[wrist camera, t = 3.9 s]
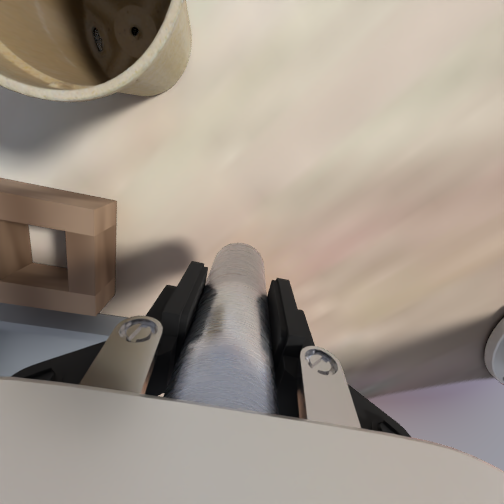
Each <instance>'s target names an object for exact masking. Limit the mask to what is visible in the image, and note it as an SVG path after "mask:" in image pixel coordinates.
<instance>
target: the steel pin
mask: <svg viewBox="0 0 504 504" xmlns="http://www.w3.org/2000/svg"><path fill="white" fill-rule="evenodd" d="M164 397H166V398H173V399H180V400H186V401H193V402H199V403H206V404H212V405H219V406H225V407H232V408H238V409H245V410H251V411H257V412H264V413H270V414H277V415H279V412H278V402H277V392H276V382H275V372H274V362H273V352H272V343H271V333H270V323H269V313H268V303H267V293H266V283H265V273H264V263H263V259H262V257H261V255H260V253H259V252H258V251H257V250H256V249H255V248H253V247H252V246H250V245H247V244H244V243H233V244H229V245H227V246H225V247H223V248H222V249H221V250H220V251H219V252H218V253H217V255H216V257H215V260H214V262H213V265H212V268H211V270H210V273H209V276H208V278H207V281H206V284H205V287H204V290H203V293H202V295H201V298H200V301H199V303H198V306H197V309H196V312H195V314H194V317H193V320H192V322H191V325H190V328H189V331H188V333H187V336H186V339H185V341H184V344H183V346H182V348H181V351H180V354H179V356H178V359H177V362H176V364H175V367H174V370H173V372H172V375H171V378H170V380H169V383H168V386H167V389H166V391H165V394H164Z"/></svg>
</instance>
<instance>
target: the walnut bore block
mask: <svg viewBox="0 0 504 504" xmlns="http://www.w3.org/2000/svg"><path fill="white" fill-rule="evenodd" d="M116 213H117V201H115V200H110V199H105V198H100V197H95V196H90V195H84V194H79V193H74V192H69V191H64V190H59V189H54V188H49V187H44V186H39V185H34V184H29V183H24V182H19V181H14V180H9V179H4V178H0V303H7V304H14V305H20V306H27V307H34V308H41V309H48V310H55V311H62V312H69V313H76V314H83V315H90V316H96V315H97V314H98V313H99V312H100V311H101V310H102V309H103V307H104V306H105V305H106V304H107V303H108V302H109V301H110V300H111V298H112V297H113V296H114V295H115V268H116ZM28 224H29V225H34V226H40V227H45V228H51V229H56V230H62V231H65V235H66V252H67V268H62V267H56V266H50V265H44V264H37V263H33V262H32V253H31V244H30V236H29V227H28Z"/></svg>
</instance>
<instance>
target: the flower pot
mask: <svg viewBox="0 0 504 504" xmlns="http://www.w3.org/2000/svg"><path fill="white" fill-rule="evenodd" d="M133 27H136V28H137V29H138V30H139V33H138V34H137V35H136V36H134V35H133V34H132V32H131V31H132V28H133ZM94 28H96V29H97V30H98V34H99V37H100V38H101V39H102V40H103V41H101V42H102V43H101V44H102V48H103V49H102V51H99V50H98V47H97V45H96V42H95V39H94V35H93V31H94ZM190 52H191V28H190V22H189V17H188V11H187V4H186V0H0V86H2V87H4V88H7V89H9V90H12V91H15V92H18V93H20V94H23V95H26V96H30V97H35V98H39V99H44V100H50V101H60V102H82V101H90V100H94V99H99V98H103V97H106V96H109V95H111V94H114V93H116V92H120V93H127V94H133V95H138V96H154V95H157V94H160V93H163V92H165V91H167V90H168V89H170V88H171V87H172V86H174V85H175V84H176V82H177V81H178V80H179V78H180V77H181V75H182V74H183V72H184V70H185V68H186V66H187V63H188V61H189V57H190Z"/></svg>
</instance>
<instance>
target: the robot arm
mask: <svg viewBox="0 0 504 504" xmlns="http://www.w3.org/2000/svg"><path fill="white" fill-rule="evenodd" d="M207 271H208V267H204V263H199V262H194V261H192V262H191V263H190V265H189V267H188V269H187V270H186V272H185V274H184V275H183V277H182V279H181V281H180V282H179V284H178V286H177V287H176V286H171V285H166V287H165V288H164V289H163V291H162V292H161V294H160V295H159V297H158V298H157V300H156V301H155V303H154V304H153V306H152V307H151V309H150V310H149V312H148V313H147V315H146V316H135V317H130V318H127V319H125V320H123V321H121V322H120V323H118V325H117V326H116V327H115V328H114V330H113V331H112V333H111V334H110V336H109V338H108V339H107V341H104V342H101V343H98V344H94V345H91V346H88V347H85V348H82V349H79V350H76V351H73V352H70V353H67V354H64V355H61V356H58V357H55V358H52V359H49V360H46V361H43V362H40V363H37V364H34V365H31V366H29V367H26V368H24V369H22V370H20V371H18V372H17V373H15V374H14V375H12V376H11V377H6V376H0V504H504V471H502V470H501V469H499V468H497V467H495V466H493V465H491V464H489V463H487V462H485V461H483V460H481V459H478V458H477V457H475V456H472V455H469V454H467V453H465V452H462V451H459V450H457V449H454V448H451V447H448V446H445V445H441V444H438V443H434V442H430V441H426V440H421V439H416V438H411V436H410V435H409V434H408V433H407V432H406V430H405V429H404V428H403V427H402V426H400V425H399V424H398V423H397V422H396V421H394V420H393V419H392V418H391V417H389V416H388V415H387V414H385V413H384V412H383V411H381V410H380V409H379V408H378V407H376V406H375V405H374V404H373V403H371V402H370V401H369V400H368V399H366V398H365V397H364V396H362V395H361V394H360V393H359V392H357V391H356V390H355V389H353V388H352V387H351V386H350V385H348V384H347V381H346V378H345V375H344V372H343V369H342V366H341V364H340V362H339V360H338V359H337V358H336V357H335V356H334V355H333V354H332V353H330V352H329V351H327V350H325V349H323V348H320V347H317V346H315V345H314V342H313V339H312V336H311V333H310V330H309V327H308V324H307V320H306V317H305V314H304V312H303V311H302V310H298V309H297V306H296V302H295V299H294V295H293V292H292V289H291V285H290V282H289V280H285V279H280V278H277V279H276V281H275V280H272V282H271V285H270V289H269V292H268V296H267V303H268V313H269V323H270V333H271V343H272V352H273V362H274V372H275V382H276V392H277V402H278V412H279V415H277V414H270V413H264V412H257V411H251V410H245V409H238V408H232V407H225V406H219V405H212V404H206V403H199V402H193V401H186V400H180V399H173V398H166V397H160V396H158V395H160V394H162V393H165V391H166V389H167V386H168V383H169V380H170V378H171V375H172V372H173V370H174V367H175V364H176V362H177V359H178V356H179V354H180V351H181V348H182V346H183V344H184V341H185V339H186V336H187V333H188V331H189V328H190V325H191V322H192V320H193V317H194V314H195V312H196V309H197V306H198V303H199V301H200V298H201V295H202V293H203V290H204V287H205V283H206V277H207ZM484 360H485V364H486V367H487V369H488V371H489V372H490V374H491V375H492V376H493V377H495V378H496V379H497V380H498V381H499V382H500V383H501V384H503V385H504V318H503V319H502V320H501V321H500V322H499V323H498V325H497V326H496V327H495V329H494V330H493V331H492V333H491V335H490V337H489V339H488V341H487V345H486V348H485V358H484Z"/></svg>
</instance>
